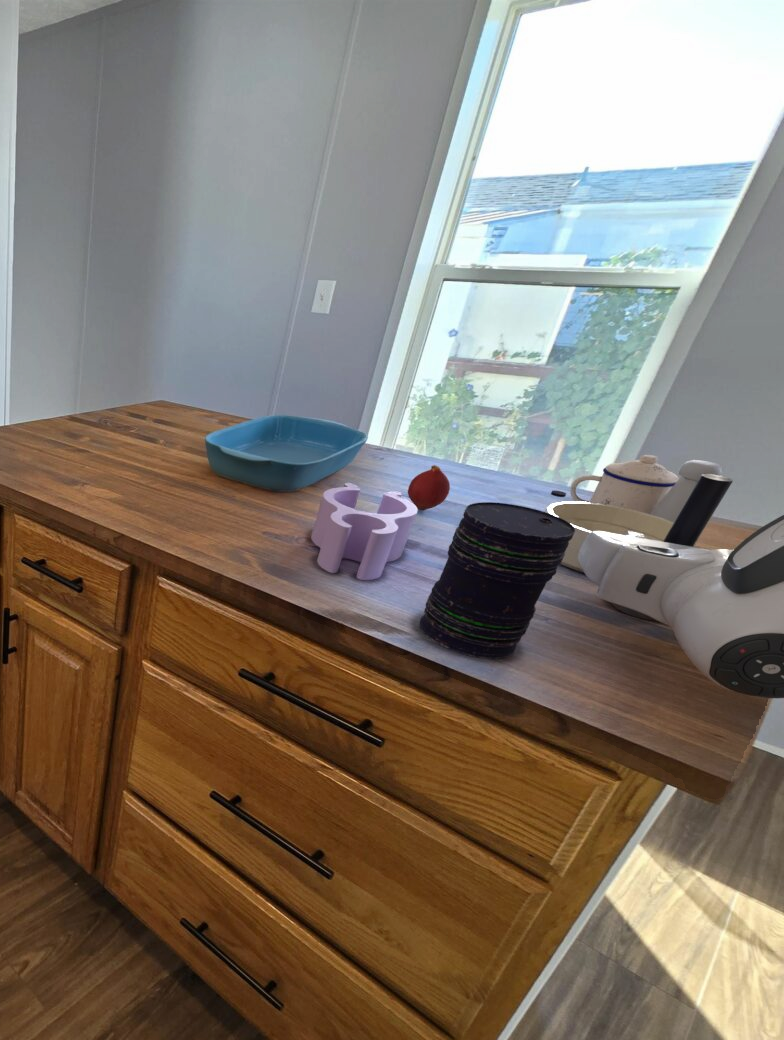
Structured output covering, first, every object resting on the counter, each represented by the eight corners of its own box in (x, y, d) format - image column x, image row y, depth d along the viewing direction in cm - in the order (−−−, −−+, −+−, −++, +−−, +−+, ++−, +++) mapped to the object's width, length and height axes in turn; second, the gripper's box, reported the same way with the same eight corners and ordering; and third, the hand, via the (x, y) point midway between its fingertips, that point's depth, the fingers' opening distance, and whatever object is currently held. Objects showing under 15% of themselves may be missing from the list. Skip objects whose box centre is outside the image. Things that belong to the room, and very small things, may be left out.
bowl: (658, 553, 99) (680, 516, 96) (687, 597, 87) (713, 557, 84) (525, 529, 106) (542, 494, 103) (535, 566, 94) (553, 528, 91)
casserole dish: (289, 507, 113) (299, 467, 109) (178, 474, 127) (185, 438, 124) (374, 465, 134) (385, 430, 131) (271, 441, 149) (279, 409, 145)
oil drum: (446, 657, 73) (513, 507, 64) (401, 612, 82) (455, 474, 73) (537, 661, 73) (617, 510, 64) (483, 615, 82) (547, 477, 73)
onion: (423, 503, 116) (439, 459, 112) (448, 515, 111) (466, 470, 107) (394, 504, 115) (409, 460, 111) (418, 517, 110) (435, 471, 106)
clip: (397, 588, 88) (414, 541, 84) (298, 565, 93) (311, 520, 90) (403, 537, 103) (419, 495, 99) (318, 519, 108) (329, 479, 105)
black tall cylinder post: (662, 606, 84) (743, 475, 76) (673, 625, 80) (759, 489, 72) (607, 594, 87) (678, 466, 78) (614, 612, 83) (691, 479, 74)
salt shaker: (671, 554, 98) (720, 470, 92) (626, 539, 103) (670, 459, 97) (691, 547, 101) (740, 466, 94) (646, 533, 105) (690, 455, 99)
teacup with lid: (647, 523, 109) (685, 455, 103) (653, 540, 103) (694, 469, 97) (557, 506, 115) (588, 441, 110) (558, 522, 109) (591, 453, 103)
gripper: (885, 594, 62) (824, 542, 72) (607, 544, 71) (587, 505, 81) (841, 649, 65) (788, 593, 75) (580, 594, 74) (565, 550, 84)
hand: (682, 546), depth 78 cm, fingers open, 8 cm apart
